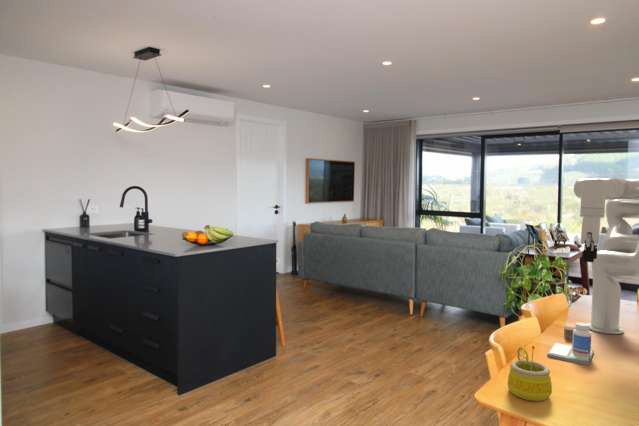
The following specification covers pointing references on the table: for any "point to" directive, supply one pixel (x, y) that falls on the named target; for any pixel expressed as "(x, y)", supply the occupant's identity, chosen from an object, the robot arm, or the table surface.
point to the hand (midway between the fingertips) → (589, 260)
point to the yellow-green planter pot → (529, 378)
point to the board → (568, 354)
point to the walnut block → (568, 332)
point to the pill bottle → (581, 339)
